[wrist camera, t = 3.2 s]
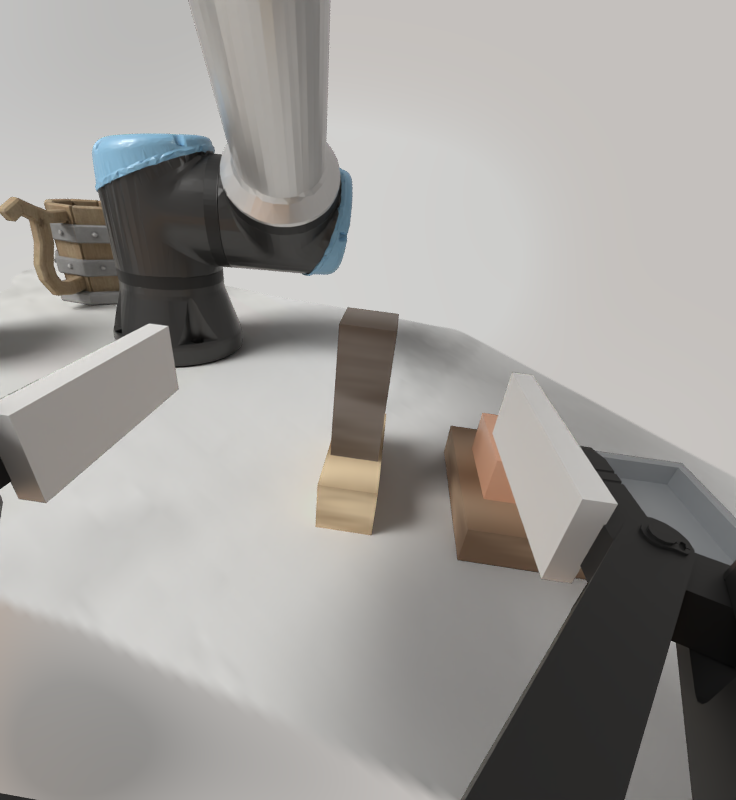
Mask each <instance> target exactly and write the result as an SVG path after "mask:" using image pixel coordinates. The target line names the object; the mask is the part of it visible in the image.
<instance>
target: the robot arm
mask: <svg viewBox="0 0 736 800" xmlns="http://www.w3.org/2000/svg"><path fill="white" fill-rule="evenodd" d="M188 2H189V5H190V9H191V13H192V16H193V20H194V23H195V27H196V31H197V34H198V38H199V42H200V45H201V48H202V52H203V56H204V59H205V63H206V66H207V70H208V74H209V77H210V81H211V85H212V88H213V92H214V96H215V99H216V103H217V107H218V110H219V114H220V117H221V121H222V124H223V128H224V132H225V135H226V139H227V142H228V143H227V145H226V147H225V148H224V151H223V153H222V155H221V154H214V152H215V150H214V147H213V145H212V142H211V141H210V139H209V138H207V137H204V136H197V135H184V134H179V135H176V134H124V135H113V136H106V137H103V138H101V139H99V140H98V141H97V142H96V143H95V144H94V146H93V150H92V156H93V164H94V171H95V177H96V186H95V187H96V190H97V192H98V193H99V197H100V202H101V206H102V210H103V215H104V219H105V223H106V228H107V232H108V236H109V241H110V245H111V249H112V254H113V258H114V263H115V267H116V271H117V275H118V280H119V296H118V303H117V309H116V317H115V326H114V338H115V341H114V342H112V343H110V344H108V345H106V346H104V347H102V348H100V349H98V350H96V351H94V352H92V353H90V354H88V355H86V356H84V357H82V358H80V359H78V360H77V361H75V362H73V363H71V364H69V365H67V366H65V367H63V368H61V369H59V370H57V371H55V372H53V373H51V374H49V375H47V376H45V377H43V378H41V379H39V380H36V381H34V382H32V383H30V384H28V385H26V386H24V387H23V388H21V389H20V390H17V391H15V392H13V393H11V394H9V395H8V396H6V397H3V398H1V399H0V489H1V488H2V487H4V486H5V485H7V484H8V483H9V482H11V484H12V486H13V488H14V490H15V492H16V494H17V496H18V499H23V500H29V501H36V502H42V503H47V502H48V501H49V500H50V499H52V498H53V497H54V496H55V495H56V494H57V493H59V492H60V491H61V490H62V489H63V488H64V487H66V486H67V485H68V484H69V483H70V482H71V481H73V480H74V479H75V478H76V477H77V476H78V475H80V474H81V473H82V472H83V471H84V470H85V469H86V468H88V467H89V466H90V465H91V464H92V463H93V462H95V461H96V460H97V459H98V458H99V457H100V456H102V455H103V454H104V453H105V452H106V451H107V450H109V449H110V448H111V447H112V446H113V445H114V444H116V443H117V442H118V441H119V440H120V439H121V438H123V437H124V436H125V435H126V434H127V433H128V432H130V431H131V430H132V429H133V428H134V427H135V426H137V425H138V424H139V423H140V422H141V421H142V420H144V419H145V418H146V417H147V416H148V415H149V414H151V413H152V412H153V411H154V410H155V409H156V408H158V407H159V406H160V405H161V404H162V403H163V402H165V401H166V400H167V399H168V398H169V397H170V396H171V395H173V394H174V393H175V392H176V391H177V390H178V389H179V388H178V382H177V376H176V369H175V366H188V365H196V364H202V363H207V362H212V361H215V360H219V359H221V358H224V357H226V356H229V355H231V354H232V353H234V352H235V351H237V350H238V349H239V348H240V346H241V345H242V331H241V325H240V322H239V320H238V317H237V315H236V313H235V310H234V308H233V305H232V303H231V301H230V298H229V296H228V293H227V291H226V289H225V285H224V277H223V267H235V268H246V269H258V270H269V271H281V272H292V273H302V274H303V275H307V276H310V275H313V274H323V275H325V274H327V275H328V274H331V273H333V272H335V271H336V270H337V269H338V267H339V265H340V264H341V261H342V258H343V254H344V252H345V247H346V242H347V233H348V229H349V226H350V218H351V209H352V179H351V176H350V174H349V173H348V172H347V171H345V170H342V169H341V168H339V164H338V160H337V158H336V156H335V154H334V152H333V150H332V149H331V147H330V146H329V145H328V143H327V142H326V133H327V132H326V131H327V98H328V65H329V64H328V63H329V31H330V30H329V29H330V0H188ZM492 434H493V437H494V440H495V443H496V446H497V449H498V452H499V455H500V458H501V461H502V463H503V466H504V469H505V472H506V475H507V478H508V481H509V484H510V487H511V490H512V493H513V496H514V499H515V502H516V505H517V508H518V511H519V514H520V517H521V520H522V523H523V526H524V529H525V532H526V535H527V538H528V541H529V544H530V547H531V550H532V553H533V556H534V559H535V562H536V565H537V568H538V571H539V573H540V576H541V579H545V580H552V581H558V582H565V583H571V584H572V582H573V580H574V579H575V577H576V575H577V574H578V572H579V570H580V568H581V569H582V571H583V573H584V576H585V578H586V580H587V582H588V583H587V585H586V586H585V588H584V589H583V591H582V593H581V594H580V596H579V598H578V599H577V601H576V603H575V604H574V606H573V607H572V609H571V612H570V613H569V615H568V617H567V619H566V620H565V622H564V624H563V625H562V627H561V629H560V631H559V632H558V634H557V636H556V637H555V639H554V641H553V643H552V644H551V646H550V648H549V649H548V651H547V653H546V655H545V656H544V658H543V660H542V661H541V663H540V665H539V667H538V668H537V670H536V672H535V673H534V675H533V677H532V678H531V680H530V682H529V684H528V685H527V687H526V689H525V690H524V692H523V694H522V696H521V697H520V699H519V701H518V702H517V704H516V706H515V708H514V709H513V711H512V713H511V714H510V716H509V718H508V720H507V721H506V723H505V725H504V726H503V728H502V730H501V732H500V733H499V735H498V737H497V738H496V740H495V742H494V744H493V745H492V747H491V749H490V750H489V752H488V754H487V756H486V757H485V759H484V761H483V762H482V764H481V766H480V768H479V769H478V771H477V773H476V774H475V776H474V778H473V780H472V781H471V783H470V785H469V786H468V788H467V790H466V792H465V793H464V795H463V797H462V798H461V800H624V799H625V795H626V792H627V788H628V785H629V782H630V778H631V775H632V771H633V768H634V765H635V761H636V758H637V754H638V751H639V748H640V744H641V741H642V737H643V734H644V731H645V727H646V724H647V720H648V717H649V714H650V710H651V707H652V703H653V700H654V697H655V693H656V690H657V686H658V683H659V680H660V676H661V673H662V669H663V666H664V663H665V659H666V656H667V652H668V649H669V646H670V642H671V641H673V642H676V648H677V657H678V667H679V676H680V686H681V695H682V705H683V714H684V724H685V733H686V743H687V752H688V762H689V771H690V781H691V790H692V800H736V560H735V561H734V563H733V564H732V565H728V564H725V563H722V562H720V561H717V560H714V559H711V558H708V557H706V556H703V555H700V554H697V553H695V551H694V548H693V547H692V545H691V544H690V542H689V541H688V540H687V539H686V538H685V537H684V536H683V535H682V534H681V533H679V532H678V531H677V530H675V529H674V528H672V527H671V526H669V525H667V524H666V523H664V522H661V521H659V520H657V519H654V518H651V517H647V516H646V514H645V513H644V511H643V510H642V509H641V507H640V506H639V505H638V503H637V502H636V500H635V499H634V498H633V496H632V495H631V494H630V492H629V491H628V489H627V488H626V487H625V485H624V484H622V481H621V480H620V478H619V477H618V476H617V474H614V470H613V469H612V467H611V466H610V465H609V463H608V462H607V460H606V459H605V458H603V457H602V456H601V455H600V454H598V453H597V452H596V451H595V450H593V449H592V448H590V447H583V446H579V444H578V443H577V441H576V440H575V438H574V437H573V435H572V434H571V432H570V431H569V429H568V428H567V426H566V425H565V423H564V422H563V420H562V419H561V417H560V416H559V414H558V413H557V411H556V410H555V408H554V407H553V405H552V404H551V402H550V401H549V399H548V397H547V396H546V394H545V393H544V391H543V390H542V388H541V387H540V385H539V384H538V382H537V381H536V379H535V378H534V376H533V375H529V374H521V373H514V372H512V374H511V377H510V380H509V383H508V386H507V389H506V392H505V395H504V399H503V402H502V405H501V408H500V411H499V414H498V417H497V420H496V424H495V427H494V430H493V433H492ZM2 504H3V501H2V498H1V495H0V517H1V511H2ZM0 800H35V799H29V798H24V797H18V796H13V795H7V794H1V793H0Z"/></svg>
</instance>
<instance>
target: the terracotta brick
mask: <svg viewBox="0 0 736 800" xmlns="http://www.w3.org/2000/svg"><path fill="white" fill-rule="evenodd" d="M497 417H498V415H494V414H486V413H482V416H481V419H480V423H479V426H478V429H477V432H476V436H475V439H474V442H473V446H472V451H473V455H474V459H475V464H476V468H477V472H478V477H479V481H480V485H481V490H482V494H483V498H484V499H487V500H493V501H500V502H507V503H514V504H516V502H515V499H514V496H513V493H512V490H511V487H510V484H509V481H508V478H507V475H506V472H505V469H504V466H503V463H502V461H501V458H500V455H499V452H498V449H497V446H496V443H495V440H494V437H493V434H492V433H493V430H494V427H495V424H496V420H497Z"/></svg>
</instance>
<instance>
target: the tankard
mask: <svg viewBox="0 0 736 800" xmlns="http://www.w3.org/2000/svg"><path fill="white" fill-rule="evenodd" d="M44 205H45V209H46V210H44V209H42V208H39V207H36V206H34V205H32V204H30V203H27V202H25V201H23V200H21V199H19V198H15V197H11V198H9V199H8V200H7V201H6V202H5V203H4V204H2V205H1V206H0V214H1V215H2V216H3V217H4V218H5V219H6V220H8V221H16V220H18V218H19V217H20V216H23V217H25V218H27V219H29V221H30V226H31V231H32V235H33V239H34V267H35V269H36V272H37V275H38V278H39V280H40V281H41V282H42V283H43V285H44V286H45V287H46V288H47V289H48V290H49V291H50V292H51V293H52V294H53V295H58V296H60V295H61V298H62V300H65V301H71V302H77V303H83V304H88V305H103V304H117V303H118V296H119V280H118V275H117V271H116V267H115V263H114V258H113V254H112V249H111V245H110V241H109V236H108V232H107V228H106V223H105V219H104V215H103V210H102V206H101V202H100V201H98V200H81V199H48V200H45V202H44ZM53 239H54V240H55V243H56V247H57V250H56V251H55V259H54V241H53ZM54 261H55V262H56V263H57V266H58V270H59V272H61V273H64V274H65V278H66V280H62V281H61V280H60V278H59V277H58V276H57V274H56V271H55V268H54Z"/></svg>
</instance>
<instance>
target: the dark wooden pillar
mask: <svg viewBox="0 0 736 800" xmlns="http://www.w3.org/2000/svg"><path fill="white" fill-rule="evenodd" d="M398 316H399V314H394V313H386V312H379V311H371V310H364V309H357V308H347V310H346V312H345V314H344V316H343V318H342V319H341V321H340V323H339V336H338V350H337V365H336V380H335V394H334V409H333V424H332V438H331V443H330V446H329V450H328V453H327V456H326V459H325V463H324V466H323V469H322V472H321V475H320V479H319V482H318V486H317V507H316V527H320V528H327V529H333V530H340V531H347V532H353V533H360V534H366V535H371V534H372V527H373V521H374V515H375V508H376V502H377V496H378V487H379V478H380V468H381V459H382V450H383V440H384V431H385V421H386V414H385V410H386V403H387V397H388V390H389V383H390V377H391V370H392V363H393V356H394V350H395V343H396V336H397V329H398V318H399V317H398Z"/></svg>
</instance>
